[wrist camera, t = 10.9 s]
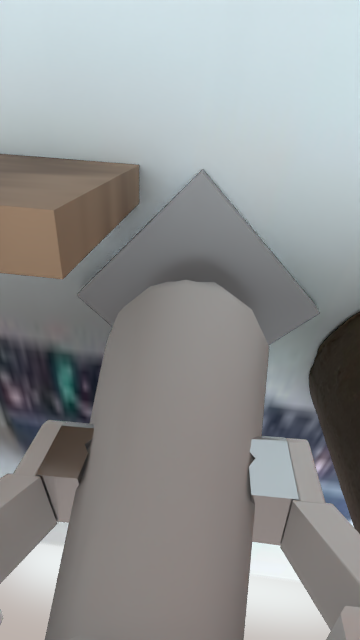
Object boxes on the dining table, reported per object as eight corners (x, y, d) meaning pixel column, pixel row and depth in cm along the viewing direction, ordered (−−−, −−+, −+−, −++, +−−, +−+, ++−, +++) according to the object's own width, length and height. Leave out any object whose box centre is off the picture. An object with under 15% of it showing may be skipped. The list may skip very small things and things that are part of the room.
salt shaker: (220, 393, 16) (215, 1007, 5) (108, 346, 15) (-191, 940, 4) (289, 295, 13) (664, 1276, 2) (154, 232, 12) (-439, 1215, 1)
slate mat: (191, 384, 19) (189, 394, 18) (82, 288, 17) (76, 295, 16) (315, 304, 16) (319, 313, 15) (202, 169, 13) (201, 171, 13)
